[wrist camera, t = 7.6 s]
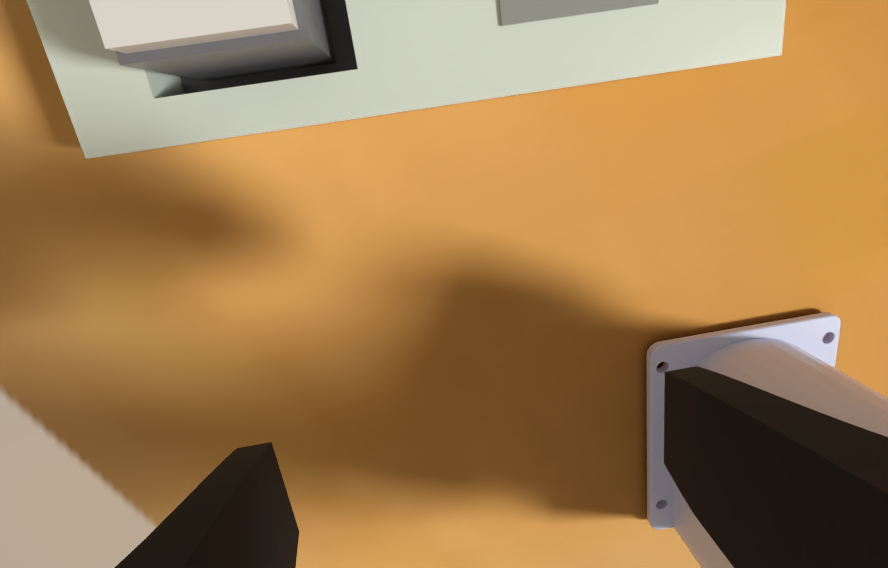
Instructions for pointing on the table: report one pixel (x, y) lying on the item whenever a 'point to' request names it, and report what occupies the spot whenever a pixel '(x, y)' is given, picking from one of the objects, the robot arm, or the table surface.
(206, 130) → the power strip
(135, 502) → the table surface
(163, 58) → the plug
